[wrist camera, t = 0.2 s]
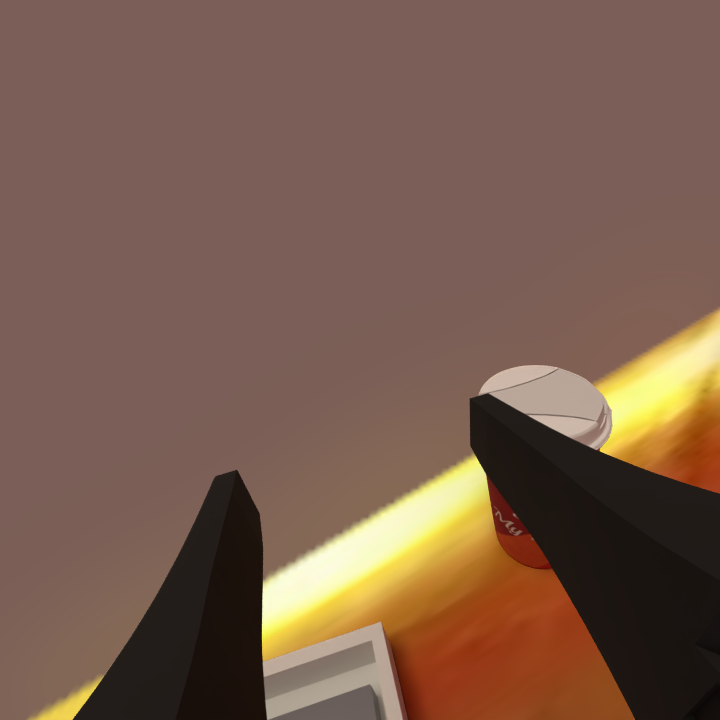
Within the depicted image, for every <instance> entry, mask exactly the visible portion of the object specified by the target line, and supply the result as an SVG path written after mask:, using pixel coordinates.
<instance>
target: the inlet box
mask: <svg viewBox="0 0 720 720" xmlns="http://www.w3.org/2000/svg"><path fill="white" fill-rule="evenodd" d="M263 674H264V688H265V701H266V713H267V720H408V717H407V713H406V708H405V704H404V700H403V695H402V691H401V687H400V682H399V678H398V674H397V670H396V665H395V661H394V657H393V652H392V648H391V644H390V642H389V640H388V637H387V635H386V632H385V630H384V628H383V625H382V623H381V622H379V623H376V624H373V625H370V626H367V627H364V628H361V629H358V630H355V631H352V632H349V633H346V634H344V635H341V636H338V637H335V638H332V639H329V640H326V641H323V642H320V643H317V644H314V645H311V646H308V647H305V648H303V649H300V650H297V651H294V652H291V653H288V654H285V655H282V656H279V657H276V658H273V659H270V660H267V661H264V662H263Z"/></svg>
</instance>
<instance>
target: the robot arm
mask: <svg viewBox="0 0 720 720" xmlns="http://www.w3.org/2000/svg"><path fill="white" fill-rule="evenodd" d="M470 445H471V448H472V450H473V451H474V453H475V455H476V457H477V459H478V461H479V462H480V464H481V466H482V468H483V469H484V471H485V473H486V474H487V476H488V477H489V479H490V480H491V482H492V483H493V484H494V486H495V487H496V488H497V490H498V491H499V493H500V494H501V495H502V497H503V498H504V499H505V501H506V502H507V503H508V505H509V506H510V507H511V509H512V510H513V512H514V513H515V514H516V516H517V517H518V518H519V520H520V521H521V522H522V524H523V525H524V526H525V528H526V529H527V530H528V532H529V533H530V535H531V536H532V537H533V539H534V540H535V542H536V543H537V545H538V546H539V548H540V549H541V551H542V552H543V554H544V555H545V557H546V559H547V560H548V562H549V564H550V565H551V567H552V569H553V570H554V572H555V574H556V575H557V577H558V579H559V580H560V582H561V584H562V585H563V587H564V589H565V590H566V592H567V594H568V596H569V597H570V599H571V601H572V603H573V604H574V606H575V608H576V609H577V611H578V613H579V615H580V616H581V618H582V620H583V622H584V624H585V625H586V627H587V629H588V631H589V633H590V634H591V636H592V638H593V640H594V642H595V643H596V645H597V647H598V649H599V651H600V653H601V654H602V656H603V658H604V660H605V662H606V664H607V666H608V668H609V669H610V671H611V673H612V675H613V677H614V679H615V681H616V683H617V685H618V687H619V689H620V691H621V692H622V694H623V696H624V698H625V700H626V702H627V704H628V706H629V708H630V710H631V712H632V714H633V716H634V718H635V720H720V494H719V493H715V492H712V491H708V490H705V489H702V488H699V487H695V486H692V485H689V484H686V483H683V482H680V481H677V480H674V479H671V478H668V477H665V476H662V475H659V474H656V473H653V472H650V471H648V470H645V469H642V468H639V467H637V466H634V465H632V464H629V463H627V462H624V461H622V460H619V459H617V458H614V457H612V456H609V455H607V454H605V453H602V452H600V451H598V450H595V449H593V448H591V447H589V446H587V445H585V444H583V443H580V442H578V441H576V440H574V439H572V438H570V437H568V436H566V435H564V434H562V433H560V432H558V431H556V430H554V429H552V428H550V427H548V426H546V425H544V424H543V423H541V422H539V421H537V420H535V419H533V418H531V417H530V416H528V415H526V414H524V413H523V412H521V411H519V410H517V409H515V408H514V407H512V406H510V405H508V404H507V403H505V402H503V401H501V400H499V399H498V398H496V397H494V396H492V395H490V394H489V393H487V394H484V395H480V396H477V397H474V398H471V399H470ZM262 592H263V542H262V532H261V523H260V514H259V512H258V510H257V508H256V506H255V504H254V502H253V500H252V498H251V496H250V494H249V492H248V490H247V488H246V486H245V484H244V482H243V480H242V478H241V476H240V475H239V473H238V471H237V470H235V471H232V472H229V473H225V474H222V475H218V476H216V477H215V478H214V480H213V482H212V484H211V487H210V489H209V491H208V493H207V496H206V498H205V500H204V503H203V505H202V507H201V509H200V511H199V514H198V516H197V518H196V520H195V522H194V524H193V526H192V528H191V531H190V532H189V534H188V537H187V539H186V541H185V543H184V545H183V547H182V549H181V551H180V553H179V555H178V557H177V559H176V561H175V562H174V564H173V566H172V568H171V570H170V571H169V573H168V575H167V577H166V579H165V581H164V583H163V584H162V586H161V588H160V590H159V592H158V593H157V595H156V597H155V599H154V600H153V602H152V604H151V606H150V607H149V609H148V610H147V612H146V614H145V615H144V617H143V619H142V620H141V622H140V623H139V625H138V627H137V628H136V630H135V631H134V633H133V634H132V636H131V638H130V639H129V641H128V642H127V644H126V645H125V647H124V648H123V650H122V651H121V653H120V654H119V656H118V657H117V658H116V660H115V661H114V663H113V664H112V666H111V667H110V669H109V670H108V672H107V673H106V675H105V676H104V678H103V679H102V680H101V682H100V683H99V685H98V686H97V687H96V689H95V690H94V692H93V693H92V694H91V696H90V697H89V699H88V700H87V701H86V703H85V704H84V705H83V707H82V708H81V709H80V710H79V712H78V713H77V714H76V716H75V717H74V718H73V720H267V713H266V701H265V688H264V674H263V659H262Z"/></svg>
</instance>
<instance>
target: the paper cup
mask: <svg viewBox="0 0 720 720" xmlns="http://www.w3.org/2000/svg"><path fill="white" fill-rule="evenodd" d="M487 393H489V394H490V395H492V396H494V397H496V398H498V399H499V400H501V401H503V402H505V403H507V404H508V405H510V406H512V407H514V408H515V409H517V410H519V411H521V412H523V413H524V414H526V415H528V416H530V417H531V418H533V419H535V420H537V421H539V422H541V423H543V424H544V425H546V426H548V427H550V428H552V429H554V430H556V431H558V432H560V433H562V434H564V435H566V436H568V437H570V438H572V439H574V440H576V441H578V442H580V443H583V444H585V445H587V446H589V447H591V448H593V449H595V450H598V451H599V450H600V448H601V447H602V446H603V445H604V443H605V442H606V441H607V440H608V438H609V436H610V434H611V430H612V410H611V409H610V407H609V406H608V404H607V401H606V399H605V398H604V396H603V395H602V394H601V393H600V392H599V391H598V390H597V389H596V388H595V387H594V386H593V385H592V384H591V383H590V382H588V381H587V380H586V379H584V378H582V377H581V376H579V375H577V374H574V373H571V372H569V371H566V370H563V369H561V368H557V367H551V366H541V365H529V366H520V367H515V368H511V369H507V370H504V371H502V372H500V373H498V374H496V375H494V376H492V377H491V378H490V379H489V380H488V381H487V382H486V383H485V384H484V385H483V387H482V388H481V390H480V393H479V396H480V395H484V394H487ZM486 476H487V474H486ZM487 483H488V489H489V495H490V501H491V507H492V513H493V519H494V524H495V529H496V534H497V537H498V540H499V542H500V544H501V546H502V547H503V549H504V550H505V551H506V552H507V554H508V555H510V556H511V557H512V558H513V559H514V560H516V561H518V562H519V563H521V564H523V565H526V566H528V567H532V568H537V569H549V568H552V567H551V565H550V564H549V562H548V560H547V559H546V557H545V555H544V554H543V552H542V551H541V549H540V548H539V546H538V545H537V543H536V542H535V540H534V539H533V537H532V536H531V535H530V533H529V532H528V530H527V529H526V528H525V526H524V525H523V524H522V522H521V521H520V520H519V518H518V517H517V516H516V514H515V513H514V512H513V510H512V509H511V507H510V506H509V505H508V503H507V502H506V501H505V499H504V498H503V497H502V495H501V494H500V493H499V491H498V490H497V488H496V487H495V486H494V484H493V483H492V482H491V480H490V479H489V477H488V476H487Z"/></svg>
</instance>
